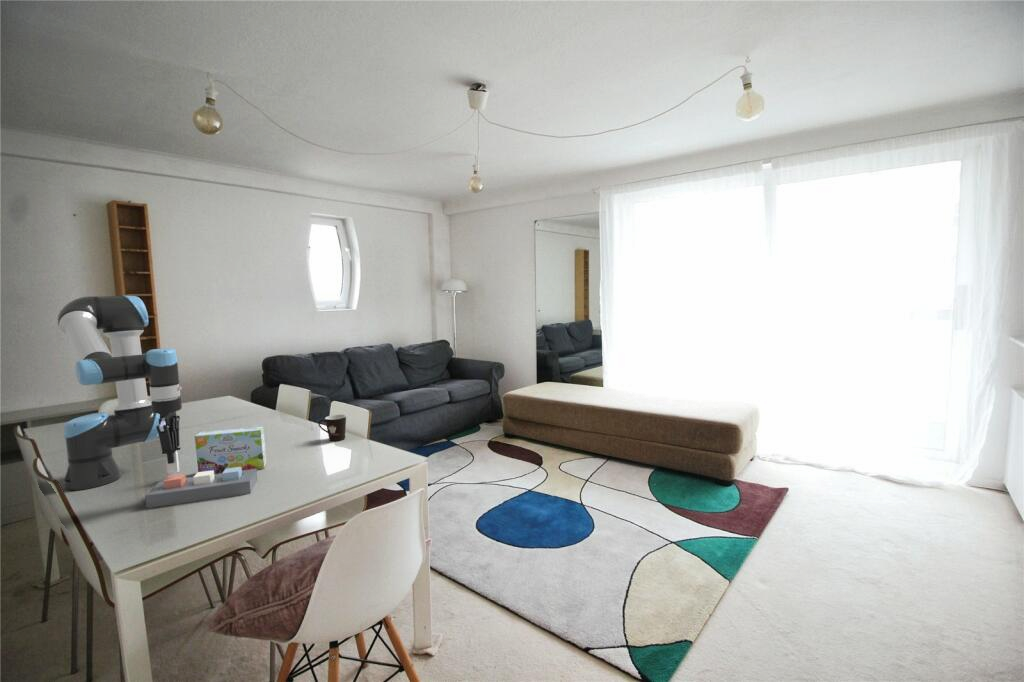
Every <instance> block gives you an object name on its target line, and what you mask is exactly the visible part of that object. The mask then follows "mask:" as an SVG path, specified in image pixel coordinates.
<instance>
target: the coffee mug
mask: <svg viewBox="0 0 1024 682" xmlns="http://www.w3.org/2000/svg"><path fill="white" fill-rule="evenodd" d="M321 422H325V426H326V429H325V428H323V427H322V426H321ZM346 423H347V415H346V414H333V415H328V416H326V417H325V418H324V419H320V420H319V421H318V427H319V428H320V429H321V430H322V431H324V432H325V433H327V435H328V440H329V442H334V443H335V442H336V443H337V442H341V441H344V440H346V427H347V425H346Z"/></svg>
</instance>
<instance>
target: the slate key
mask: <svg viewBox="0 0 1024 682" xmlns="http://www.w3.org/2000/svg"><path fill="white" fill-rule="evenodd" d="M222 477H223V481H230V480H237V479H241V477H242V468H241V467H235V468H227V469H225V470H224V472H223V473H222Z"/></svg>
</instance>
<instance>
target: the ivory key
mask: <svg viewBox="0 0 1024 682" xmlns="http://www.w3.org/2000/svg"><path fill="white" fill-rule="evenodd" d="M192 477H193V480H194V485H200V484H208V483H212V482H213V481H214V479H215V477H214V470H211V471H204V472H198V471H197V472H196V474H195V475H194V476H192Z"/></svg>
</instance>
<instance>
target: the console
mask: <svg viewBox="0 0 1024 682" xmlns="http://www.w3.org/2000/svg"><path fill="white" fill-rule="evenodd" d="M257 471H258V470H257V469H250V470H242V477H241V479H237V480H230V481H223V477H222V473H219V474H214V477H215V479H214V481H213V482H212V483H208V484H200V485H194V480H193V477H194V476H191V477H186V484H185V485H184V486H183V487H178V488H171V489H164V483H163V481H164V480H160V481H159V482H158V483H156V485H155V486H153V487H152V489H150V490H149V491H148V492H147V493H146V494H145V505H146V509H153V508H158V506H160V507H165V506H166V505H167V506H174V505H179V504H180V505H181V504H185V503H186V504H187V503H193V502H199V501H206V500H207V501H208V500H214V499H215V500H216V499H219V498H229V497H234V496H240V495H248V494H251V493H253V489H254V487H255V486H256V483H257V481H258V472H257ZM167 506H166V507H167Z"/></svg>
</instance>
